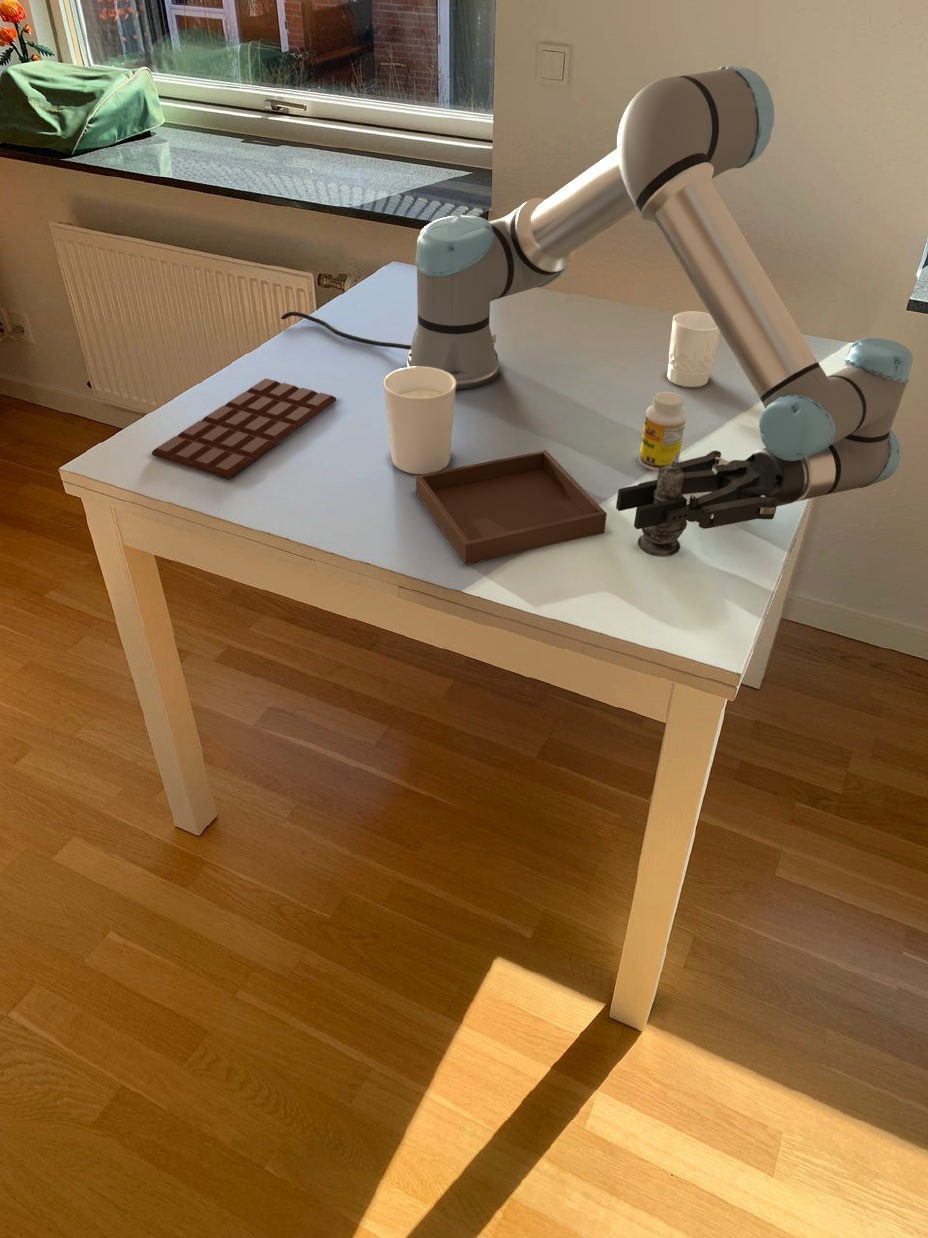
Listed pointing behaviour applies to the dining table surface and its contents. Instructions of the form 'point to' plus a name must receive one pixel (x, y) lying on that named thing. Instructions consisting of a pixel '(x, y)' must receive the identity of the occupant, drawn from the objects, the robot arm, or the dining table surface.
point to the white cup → (692, 348)
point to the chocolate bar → (244, 428)
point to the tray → (509, 506)
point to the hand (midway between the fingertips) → (628, 509)
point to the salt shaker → (664, 536)
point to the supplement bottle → (663, 431)
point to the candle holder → (420, 418)
